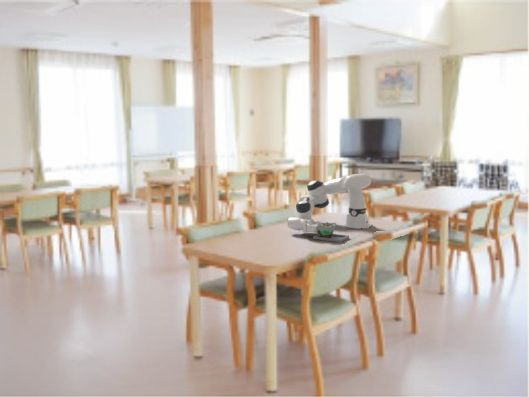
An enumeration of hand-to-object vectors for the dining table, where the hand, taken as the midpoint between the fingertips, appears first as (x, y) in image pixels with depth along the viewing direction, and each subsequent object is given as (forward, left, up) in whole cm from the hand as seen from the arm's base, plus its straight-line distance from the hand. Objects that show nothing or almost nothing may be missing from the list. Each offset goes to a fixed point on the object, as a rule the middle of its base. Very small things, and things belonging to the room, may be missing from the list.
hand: (328, 227), depth 351 cm
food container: (+2, -1, -6) cm, 7 cm away
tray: (0, +2, -7) cm, 8 cm away
